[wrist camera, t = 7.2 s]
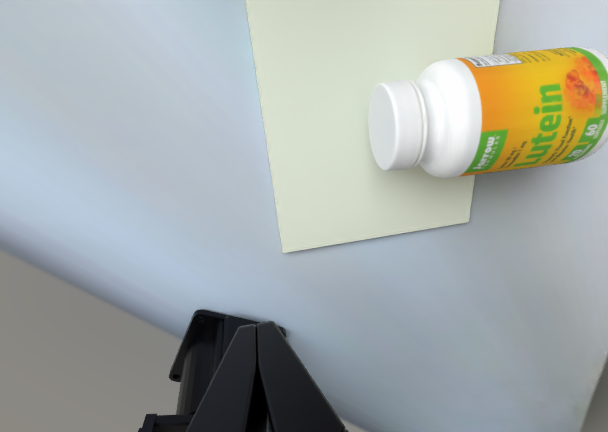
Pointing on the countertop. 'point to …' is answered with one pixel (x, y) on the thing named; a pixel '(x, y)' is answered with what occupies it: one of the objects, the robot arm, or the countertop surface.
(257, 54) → the sage mat
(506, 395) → the countertop surface
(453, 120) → the supplement bottle
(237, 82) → the countertop surface
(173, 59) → the countertop surface
